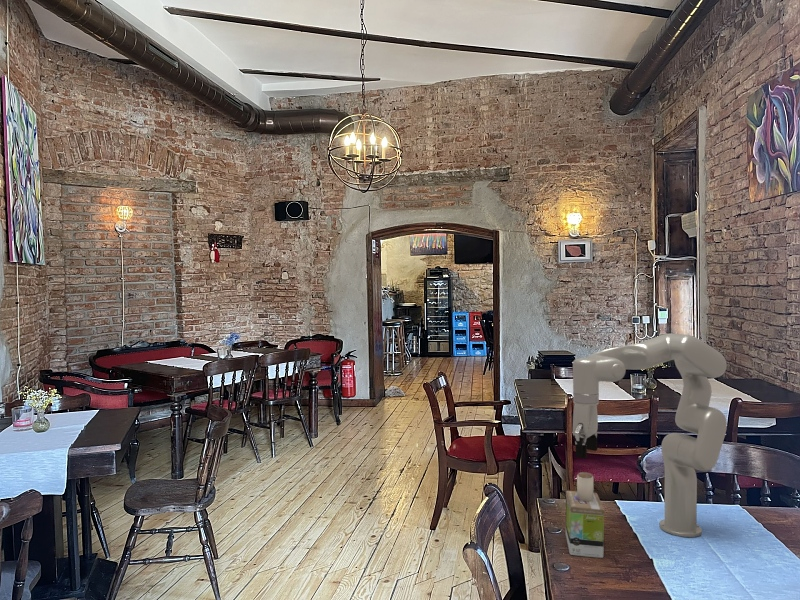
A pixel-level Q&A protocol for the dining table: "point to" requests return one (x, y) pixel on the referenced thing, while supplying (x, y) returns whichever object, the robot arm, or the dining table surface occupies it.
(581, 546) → the tea box
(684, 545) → the dining table surface
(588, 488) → the jar
